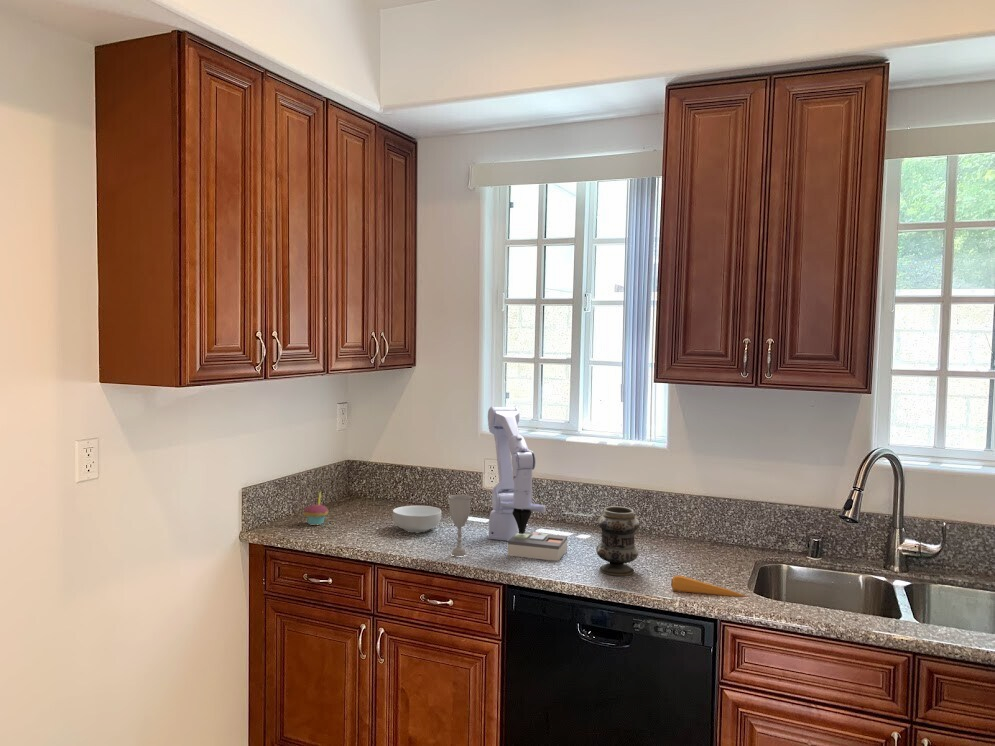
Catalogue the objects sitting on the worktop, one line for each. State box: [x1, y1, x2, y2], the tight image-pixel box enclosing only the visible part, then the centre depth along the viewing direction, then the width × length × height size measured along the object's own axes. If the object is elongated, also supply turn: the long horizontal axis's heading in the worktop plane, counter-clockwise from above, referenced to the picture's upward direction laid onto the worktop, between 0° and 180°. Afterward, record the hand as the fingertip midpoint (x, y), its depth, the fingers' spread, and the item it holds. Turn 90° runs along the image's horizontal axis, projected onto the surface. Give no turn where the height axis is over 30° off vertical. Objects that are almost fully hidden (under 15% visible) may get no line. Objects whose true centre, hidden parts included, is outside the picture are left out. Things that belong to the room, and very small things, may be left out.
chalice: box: [448, 494, 472, 556], centre depth 225 cm, size 7×7×18 cm
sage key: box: [514, 533, 530, 539], centre depth 231 cm, size 4×4×2 cm
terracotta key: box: [547, 539, 561, 543], centre depth 227 cm, size 4×4×2 cm
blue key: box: [530, 535, 546, 541], centre depth 229 cm, size 4×4×2 cm
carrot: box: [670, 574, 749, 598], centre depth 195 cm, size 20×4×4 cm, turn 76°
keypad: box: [507, 531, 568, 562], centre depth 229 cm, size 16×12×5 cm
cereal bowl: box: [392, 505, 442, 533], centre depth 254 cm, size 17×17×7 cm
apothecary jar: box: [595, 505, 640, 577], centre depth 212 cm, size 12×12×18 cm
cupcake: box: [303, 489, 329, 525], centre depth 259 cm, size 9×8×12 cm
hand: (522, 533), depth 231 cm, fingers closed
